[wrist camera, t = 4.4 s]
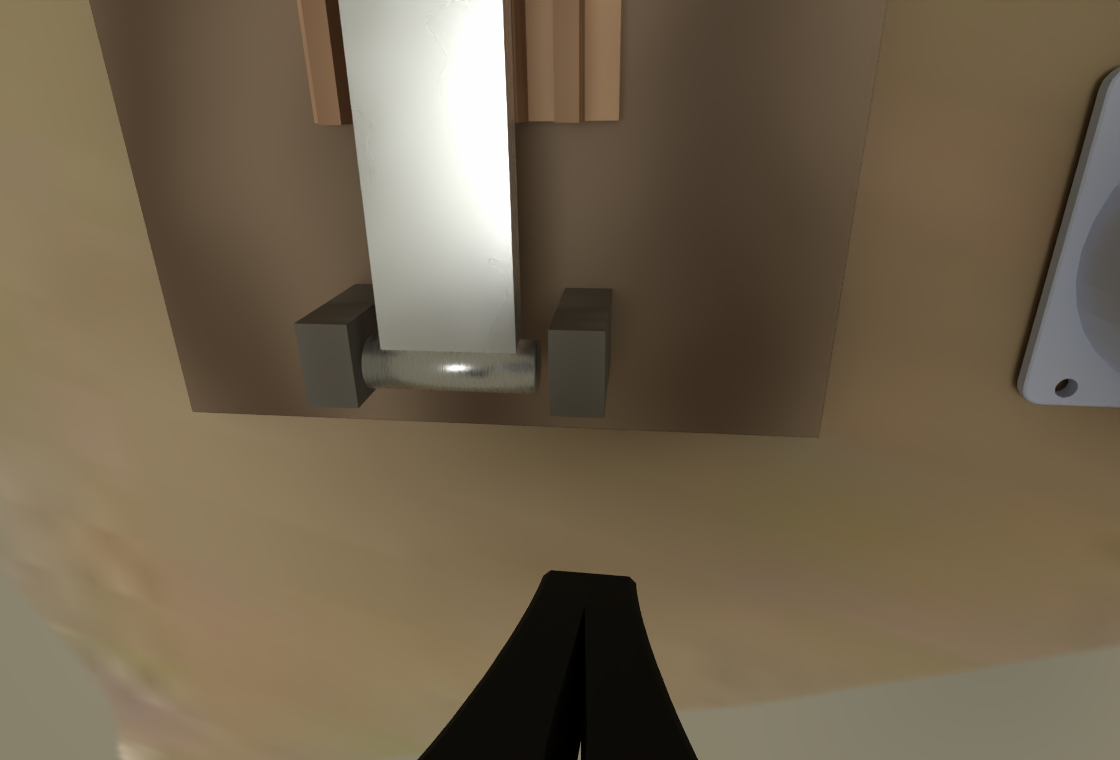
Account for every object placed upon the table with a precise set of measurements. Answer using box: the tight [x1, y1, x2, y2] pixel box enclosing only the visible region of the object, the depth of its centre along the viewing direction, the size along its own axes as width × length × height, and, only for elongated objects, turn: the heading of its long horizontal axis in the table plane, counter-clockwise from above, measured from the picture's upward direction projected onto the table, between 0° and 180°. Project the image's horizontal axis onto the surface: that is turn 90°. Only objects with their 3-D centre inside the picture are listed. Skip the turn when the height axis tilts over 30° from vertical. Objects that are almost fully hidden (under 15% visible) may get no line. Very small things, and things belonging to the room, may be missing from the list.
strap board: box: [89, 0, 887, 438], centre depth 14 cm, size 18×20×4 cm
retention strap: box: [338, 0, 542, 394], centre depth 12 cm, size 4×15×1 cm, turn 1°
